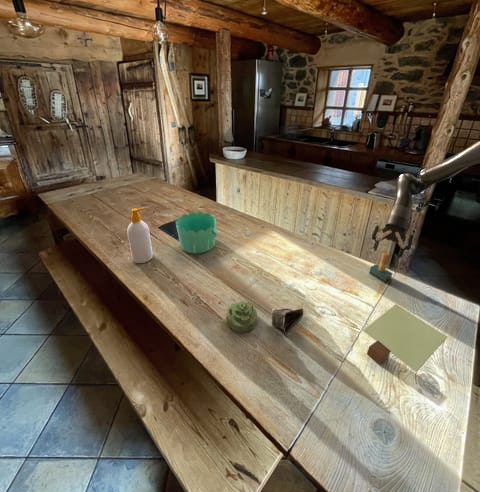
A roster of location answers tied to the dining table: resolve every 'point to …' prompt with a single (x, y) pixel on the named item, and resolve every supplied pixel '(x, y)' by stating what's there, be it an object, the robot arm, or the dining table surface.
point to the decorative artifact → (241, 316)
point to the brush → (381, 269)
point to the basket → (196, 232)
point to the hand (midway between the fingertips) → (386, 253)
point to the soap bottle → (139, 238)
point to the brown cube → (378, 352)
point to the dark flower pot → (286, 318)
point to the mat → (405, 336)
